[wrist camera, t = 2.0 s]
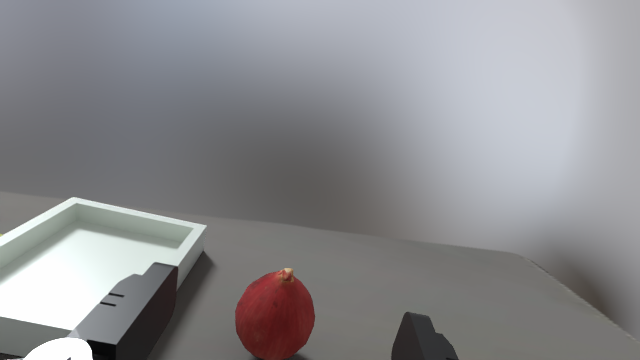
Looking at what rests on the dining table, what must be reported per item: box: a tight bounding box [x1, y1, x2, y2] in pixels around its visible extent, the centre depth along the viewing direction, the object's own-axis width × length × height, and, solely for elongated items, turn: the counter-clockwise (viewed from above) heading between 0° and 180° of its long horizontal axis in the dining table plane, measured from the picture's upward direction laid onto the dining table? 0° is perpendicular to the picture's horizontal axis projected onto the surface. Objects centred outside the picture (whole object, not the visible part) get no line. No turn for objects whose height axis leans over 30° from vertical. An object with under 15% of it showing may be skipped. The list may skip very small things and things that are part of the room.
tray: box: [0, 197, 207, 357], centre depth 30 cm, size 14×16×3 cm
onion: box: [235, 268, 315, 360], centre depth 26 cm, size 6×6×8 cm
